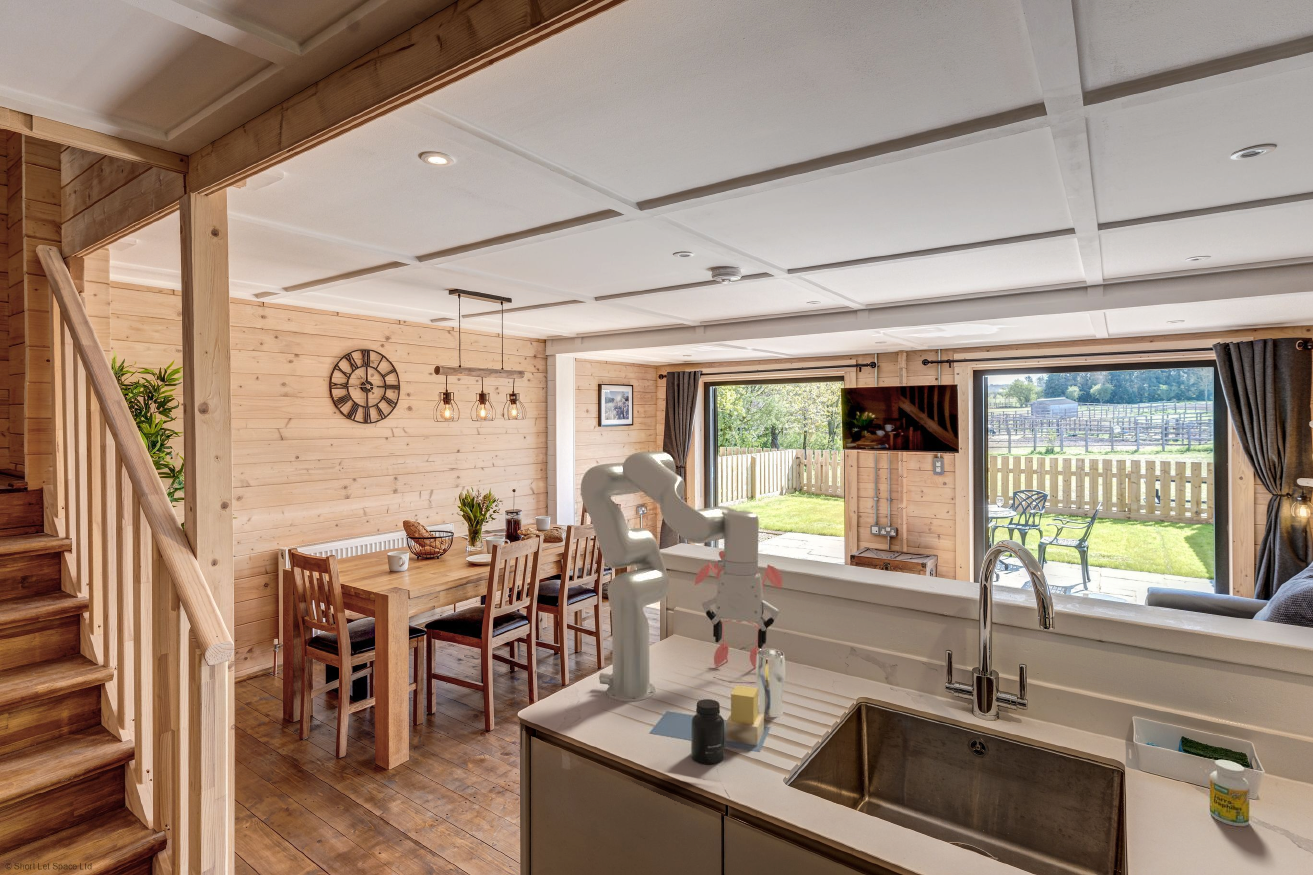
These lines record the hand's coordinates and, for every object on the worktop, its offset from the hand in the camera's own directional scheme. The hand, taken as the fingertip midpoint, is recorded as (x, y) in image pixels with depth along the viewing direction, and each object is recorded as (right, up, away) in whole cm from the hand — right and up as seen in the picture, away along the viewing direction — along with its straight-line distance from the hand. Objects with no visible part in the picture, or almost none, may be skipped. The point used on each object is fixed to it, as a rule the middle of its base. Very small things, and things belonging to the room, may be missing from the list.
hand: (739, 643), depth 151 cm
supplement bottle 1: (-8, -22, -10) cm, 25 cm away
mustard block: (+1, -16, -1) cm, 16 cm away
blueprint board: (-6, -21, +2) cm, 22 cm away
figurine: (+4, -20, +38) cm, 43 cm away
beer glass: (+9, -21, +11) cm, 25 cm away
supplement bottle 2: (+83, -22, -31) cm, 91 cm away
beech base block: (+1, -20, -1) cm, 20 cm away
